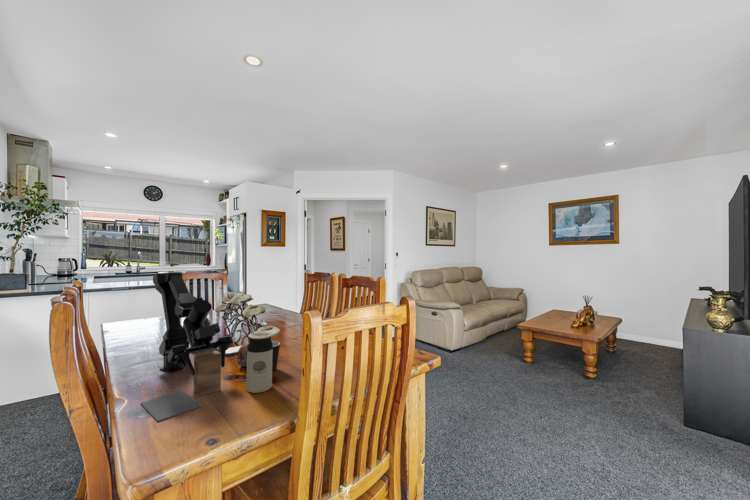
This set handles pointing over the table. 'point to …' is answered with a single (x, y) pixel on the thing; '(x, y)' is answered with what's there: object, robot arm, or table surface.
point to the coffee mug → (275, 355)
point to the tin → (242, 355)
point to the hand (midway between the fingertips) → (209, 370)
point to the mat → (170, 405)
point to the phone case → (232, 351)
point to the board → (207, 373)
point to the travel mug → (259, 362)
